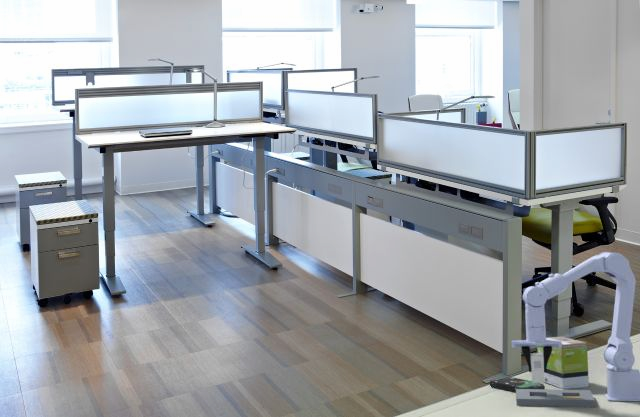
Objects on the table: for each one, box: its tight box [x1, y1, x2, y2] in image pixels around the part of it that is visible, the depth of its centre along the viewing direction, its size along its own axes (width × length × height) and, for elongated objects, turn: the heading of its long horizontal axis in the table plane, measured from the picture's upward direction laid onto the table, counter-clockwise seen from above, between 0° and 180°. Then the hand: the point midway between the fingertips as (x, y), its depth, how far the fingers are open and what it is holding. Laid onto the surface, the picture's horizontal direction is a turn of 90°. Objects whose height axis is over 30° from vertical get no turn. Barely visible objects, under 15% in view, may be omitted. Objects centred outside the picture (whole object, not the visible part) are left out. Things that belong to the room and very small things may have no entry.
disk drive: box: [489, 376, 545, 394], centre depth 251 cm, size 10×3×15 cm
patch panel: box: [515, 389, 596, 408], centre depth 232 cm, size 22×14×2 cm, turn 77°
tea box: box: [536, 336, 590, 390], centre depth 256 cm, size 15×10×15 cm
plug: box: [530, 353, 546, 384], centre depth 233 cm, size 4×5×8 cm
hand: (537, 371), depth 233 cm, fingers closed on plug, 4 cm apart
